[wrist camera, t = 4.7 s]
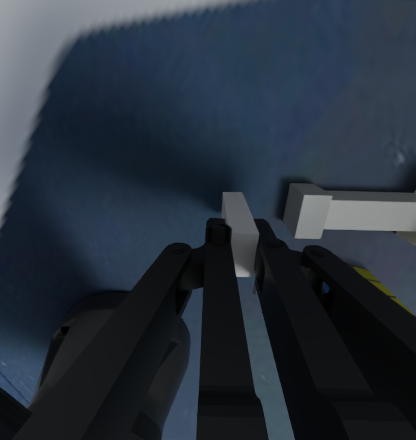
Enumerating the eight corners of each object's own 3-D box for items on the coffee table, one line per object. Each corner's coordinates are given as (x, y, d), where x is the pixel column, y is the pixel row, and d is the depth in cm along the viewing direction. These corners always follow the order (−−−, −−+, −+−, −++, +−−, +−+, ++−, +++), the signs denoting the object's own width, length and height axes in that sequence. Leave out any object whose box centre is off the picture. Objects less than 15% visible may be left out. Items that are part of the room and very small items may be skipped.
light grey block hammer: (281, 231, 20) (314, 284, 14) (292, 171, 17) (338, 201, 11) (439, 235, 20) (545, 290, 14) (471, 175, 17) (619, 208, 11)
